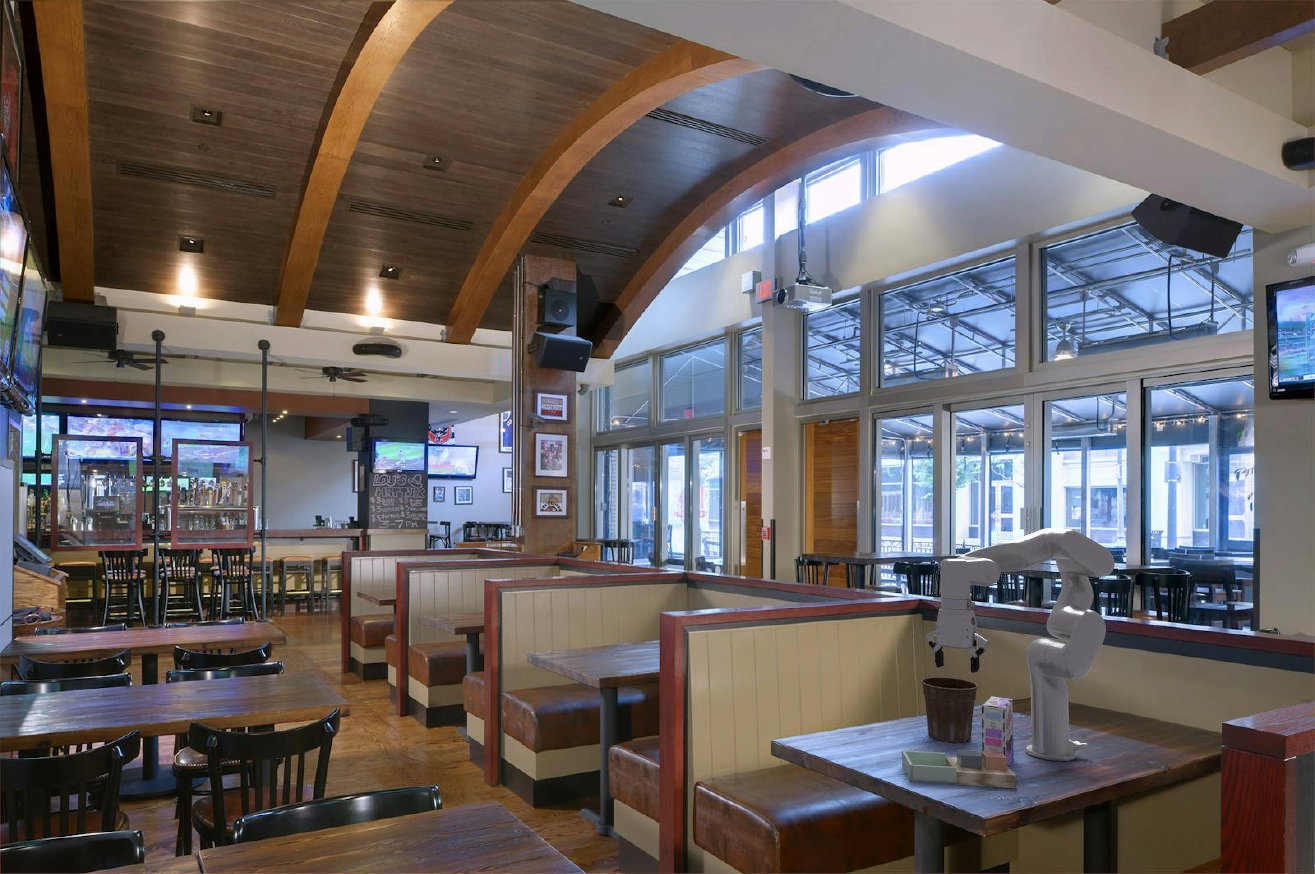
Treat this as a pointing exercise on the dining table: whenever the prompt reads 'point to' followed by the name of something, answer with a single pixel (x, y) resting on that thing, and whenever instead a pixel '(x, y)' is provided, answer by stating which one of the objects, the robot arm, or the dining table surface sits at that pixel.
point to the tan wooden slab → (982, 775)
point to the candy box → (998, 727)
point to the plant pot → (949, 708)
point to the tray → (928, 767)
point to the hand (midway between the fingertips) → (957, 669)
